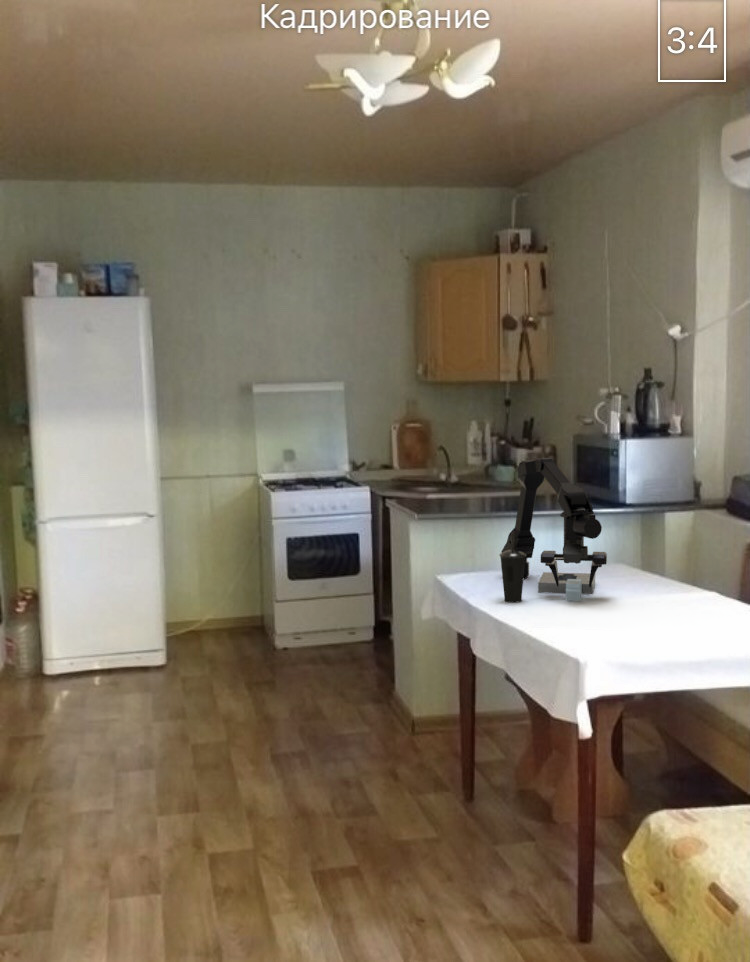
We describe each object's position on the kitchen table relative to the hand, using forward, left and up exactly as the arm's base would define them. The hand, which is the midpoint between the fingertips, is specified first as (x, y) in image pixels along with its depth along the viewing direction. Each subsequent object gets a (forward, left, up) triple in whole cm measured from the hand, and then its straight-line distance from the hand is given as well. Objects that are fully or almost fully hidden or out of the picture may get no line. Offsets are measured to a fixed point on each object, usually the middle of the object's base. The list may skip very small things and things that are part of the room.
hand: (573, 586), depth 305 cm
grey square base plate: (-3, +14, -3) cm, 15 cm away
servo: (0, 0, -4) cm, 4 cm away
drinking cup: (-17, -6, -4) cm, 18 cm away
